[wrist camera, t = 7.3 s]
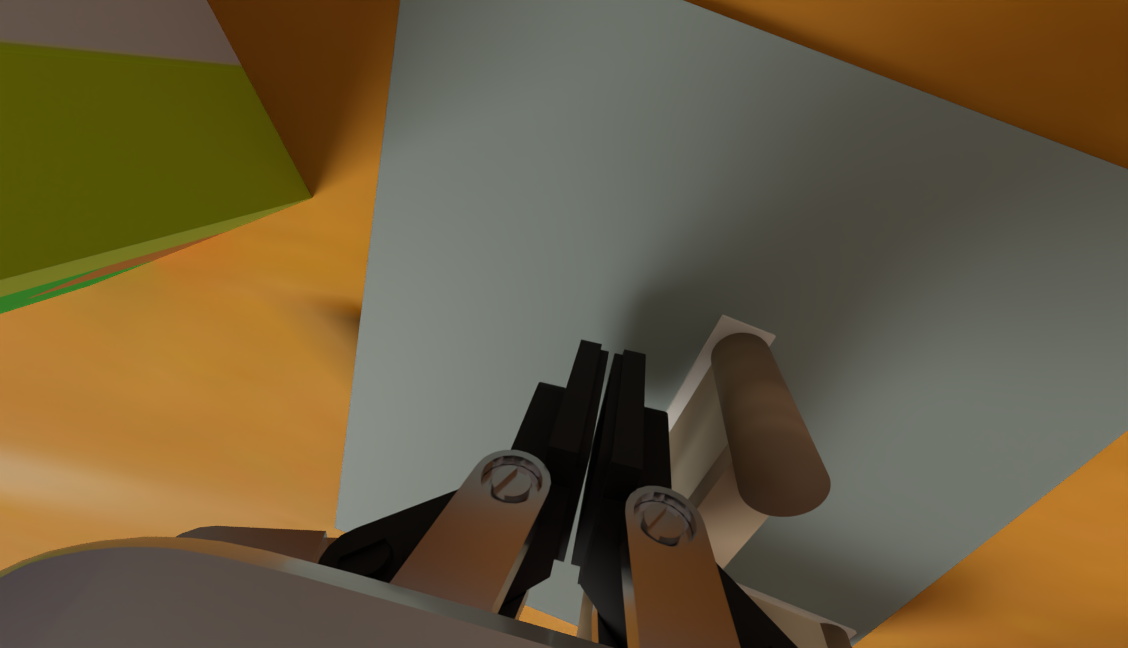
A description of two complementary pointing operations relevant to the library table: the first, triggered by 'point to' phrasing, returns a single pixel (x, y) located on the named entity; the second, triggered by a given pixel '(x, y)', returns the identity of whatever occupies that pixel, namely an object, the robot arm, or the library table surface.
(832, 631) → the fence fixed
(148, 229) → the puzzle toy
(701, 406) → the fence flap
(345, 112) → the library table surface
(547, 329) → the card
